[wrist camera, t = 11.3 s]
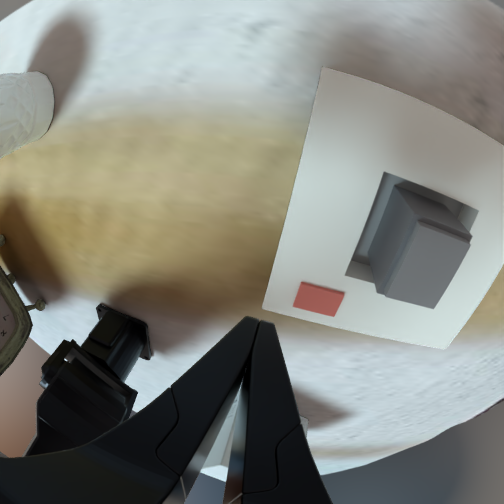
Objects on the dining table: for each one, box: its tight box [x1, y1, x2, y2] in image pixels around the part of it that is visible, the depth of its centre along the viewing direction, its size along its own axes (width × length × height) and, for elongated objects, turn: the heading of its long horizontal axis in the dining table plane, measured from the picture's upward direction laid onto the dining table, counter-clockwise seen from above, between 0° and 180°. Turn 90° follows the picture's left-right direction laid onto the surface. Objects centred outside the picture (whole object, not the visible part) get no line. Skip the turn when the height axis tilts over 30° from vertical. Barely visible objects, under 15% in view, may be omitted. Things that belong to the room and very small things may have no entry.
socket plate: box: [262, 67, 504, 350], centre depth 17 cm, size 16×16×3 cm
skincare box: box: [200, 390, 309, 482], centre depth 29 cm, size 10×6×10 cm, turn 56°
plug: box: [367, 185, 473, 309], centre depth 15 cm, size 5×4×5 cm
